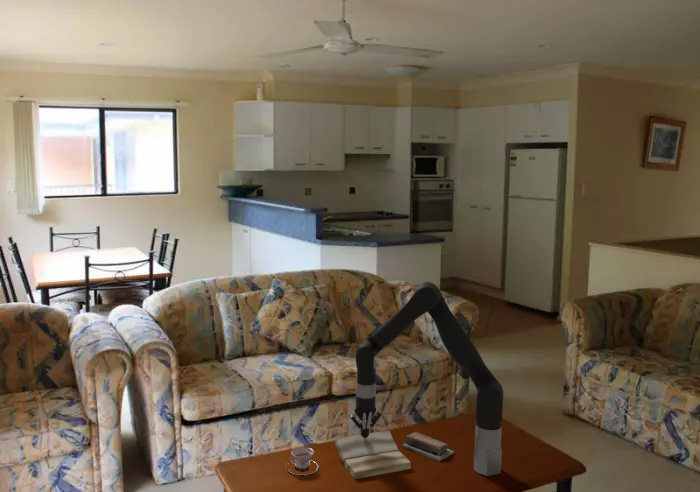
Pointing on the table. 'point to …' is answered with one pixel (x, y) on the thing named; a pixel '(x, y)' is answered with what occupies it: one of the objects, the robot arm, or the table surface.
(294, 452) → the teacup
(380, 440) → the whitewashed plank
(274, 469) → the table surface
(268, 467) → the table surface
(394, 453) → the oak plank
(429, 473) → the table surface
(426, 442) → the packaged product
